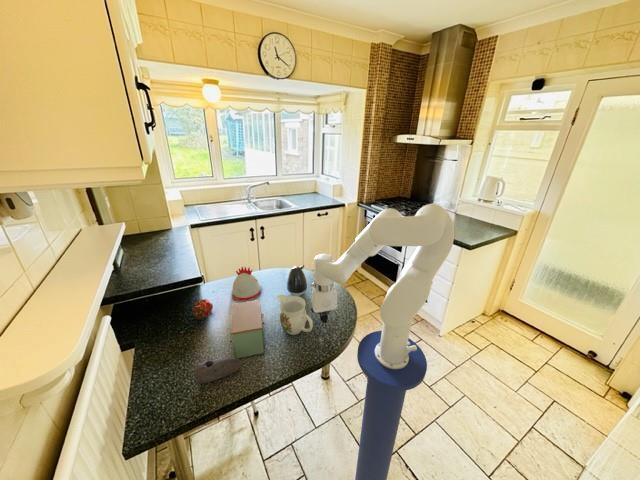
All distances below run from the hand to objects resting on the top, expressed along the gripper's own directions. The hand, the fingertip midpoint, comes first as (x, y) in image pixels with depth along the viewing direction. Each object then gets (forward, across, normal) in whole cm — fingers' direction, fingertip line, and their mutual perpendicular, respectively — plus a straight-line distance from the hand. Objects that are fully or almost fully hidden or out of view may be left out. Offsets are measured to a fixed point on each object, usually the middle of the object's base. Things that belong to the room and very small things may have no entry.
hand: (323, 320), depth 108 cm
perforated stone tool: (+3, -41, -13) cm, 43 cm away
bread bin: (+3, -31, +1) cm, 31 cm away
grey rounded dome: (+3, -31, +34) cm, 46 cm away
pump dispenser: (+3, -6, +26) cm, 27 cm away
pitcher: (+3, -12, +1) cm, 13 cm away
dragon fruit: (+3, -50, +21) cm, 55 cm away
